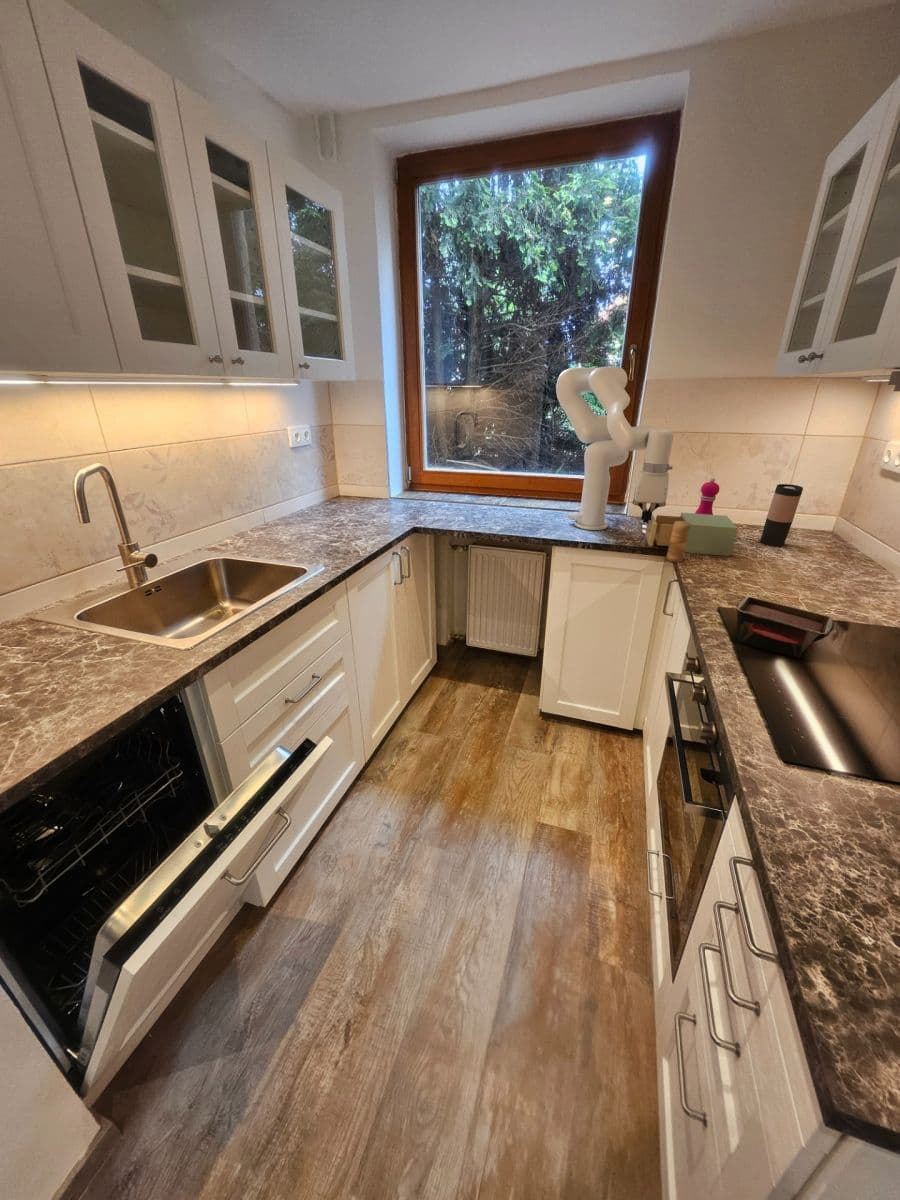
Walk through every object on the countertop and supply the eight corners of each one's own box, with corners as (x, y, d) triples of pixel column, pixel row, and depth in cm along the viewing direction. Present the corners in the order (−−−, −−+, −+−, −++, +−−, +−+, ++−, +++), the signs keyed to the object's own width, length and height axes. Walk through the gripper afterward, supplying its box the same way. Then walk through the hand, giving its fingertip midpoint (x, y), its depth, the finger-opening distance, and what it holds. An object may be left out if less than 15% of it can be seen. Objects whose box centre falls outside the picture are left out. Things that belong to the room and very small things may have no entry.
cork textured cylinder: (667, 561, 151) (675, 524, 145) (665, 555, 155) (673, 520, 149) (683, 562, 149) (692, 526, 144) (681, 557, 154) (689, 521, 148)
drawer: (635, 544, 162) (639, 522, 158) (632, 533, 173) (636, 512, 170) (691, 549, 157) (697, 527, 154) (684, 537, 169) (689, 516, 166)
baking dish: (745, 625, 117) (748, 588, 113) (835, 643, 104) (843, 602, 100) (723, 650, 108) (726, 611, 105) (819, 673, 96) (826, 629, 92)
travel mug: (762, 538, 171) (780, 482, 162) (787, 543, 166) (806, 486, 157) (756, 543, 166) (773, 486, 158) (781, 548, 161) (800, 490, 153)
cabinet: (682, 552, 158) (688, 524, 154) (675, 538, 171) (681, 512, 166) (729, 556, 155) (737, 528, 150) (719, 542, 167) (726, 515, 163)
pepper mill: (713, 534, 175) (728, 480, 166) (694, 534, 175) (707, 479, 166) (704, 528, 182) (718, 475, 173) (686, 528, 182) (698, 475, 173)
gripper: (677, 467, 157) (667, 520, 165) (630, 465, 161) (622, 517, 169) (681, 471, 151) (670, 526, 159) (632, 469, 154) (623, 523, 162)
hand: (645, 522), depth 164 cm, fingers closed
